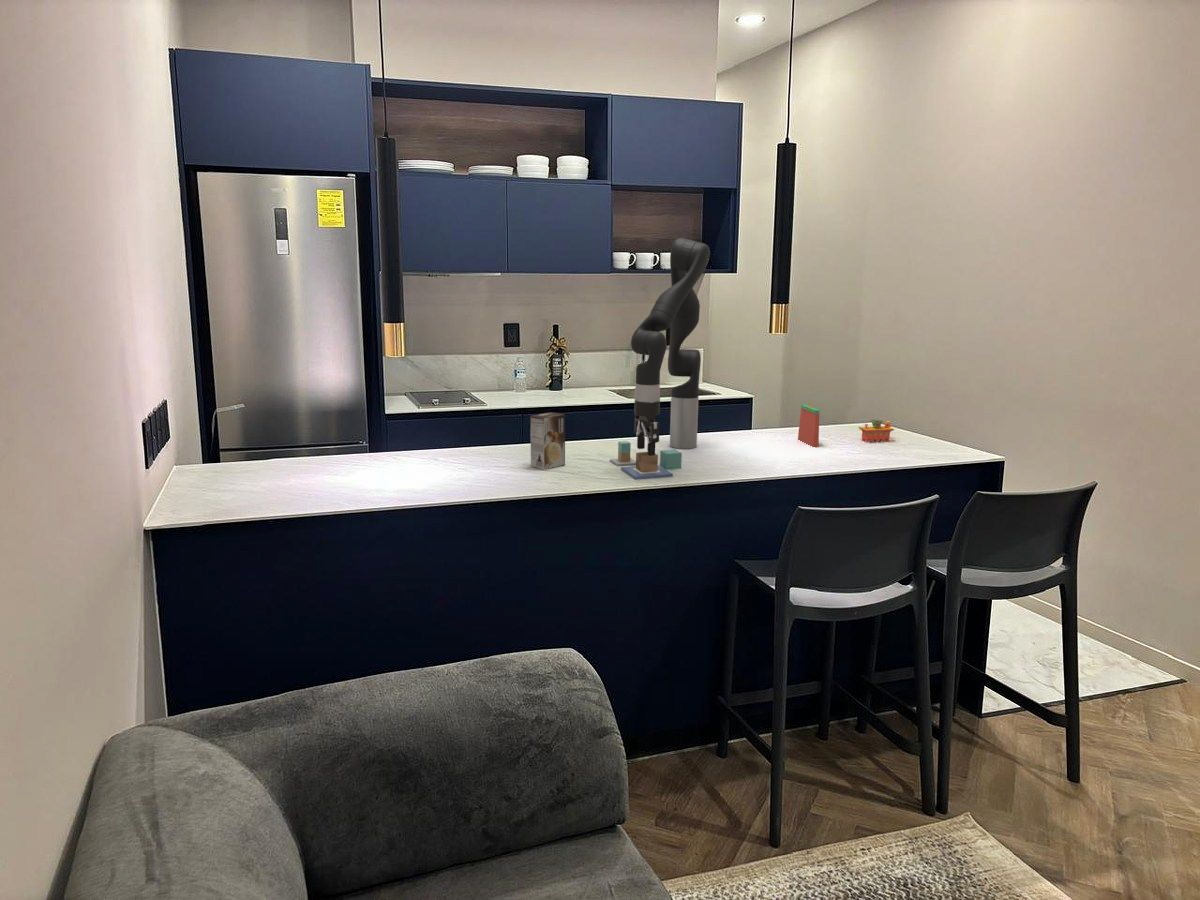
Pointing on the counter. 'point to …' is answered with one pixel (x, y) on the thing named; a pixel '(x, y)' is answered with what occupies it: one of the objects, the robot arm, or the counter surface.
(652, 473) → the board
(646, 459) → the walnut cube
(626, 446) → the stacked block model
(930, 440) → the counter surface
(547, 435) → the coffee box
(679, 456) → the teal cube
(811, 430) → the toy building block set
